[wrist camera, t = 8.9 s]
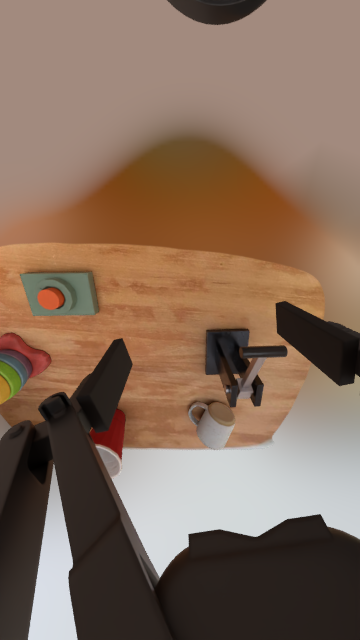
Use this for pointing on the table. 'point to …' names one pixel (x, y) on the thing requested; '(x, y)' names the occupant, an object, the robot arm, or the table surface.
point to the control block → (71, 284)
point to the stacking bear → (18, 364)
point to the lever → (255, 365)
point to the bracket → (230, 362)
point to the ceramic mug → (214, 424)
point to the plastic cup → (111, 444)
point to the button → (50, 298)
